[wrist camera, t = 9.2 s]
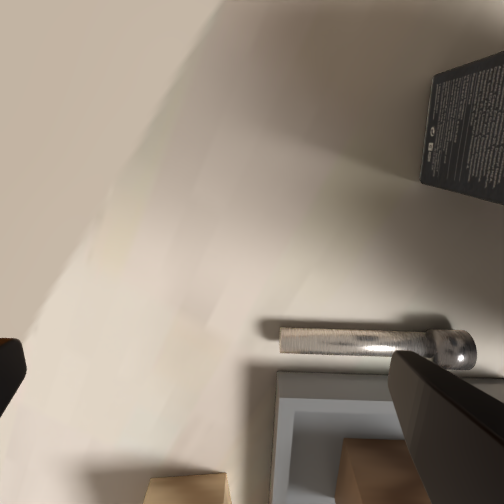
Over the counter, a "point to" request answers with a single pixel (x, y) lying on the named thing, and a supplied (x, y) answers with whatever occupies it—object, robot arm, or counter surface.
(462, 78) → the box
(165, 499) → the block
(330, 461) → the tray
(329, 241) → the counter surface
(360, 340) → the rod
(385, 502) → the block
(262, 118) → the counter surface
